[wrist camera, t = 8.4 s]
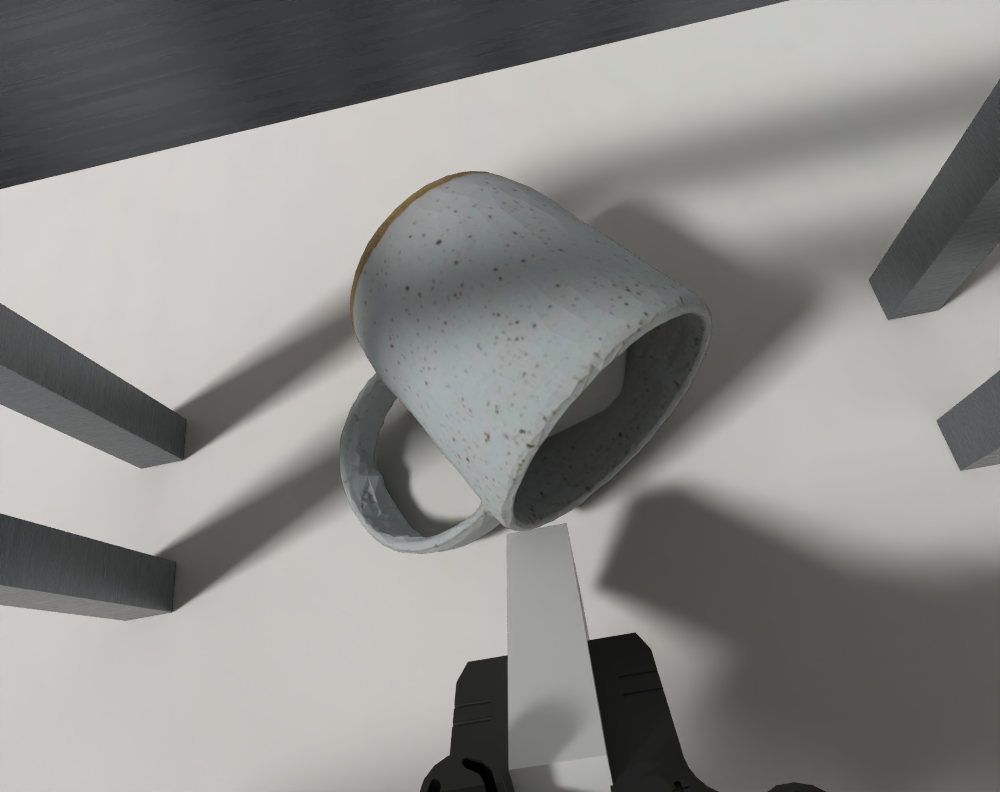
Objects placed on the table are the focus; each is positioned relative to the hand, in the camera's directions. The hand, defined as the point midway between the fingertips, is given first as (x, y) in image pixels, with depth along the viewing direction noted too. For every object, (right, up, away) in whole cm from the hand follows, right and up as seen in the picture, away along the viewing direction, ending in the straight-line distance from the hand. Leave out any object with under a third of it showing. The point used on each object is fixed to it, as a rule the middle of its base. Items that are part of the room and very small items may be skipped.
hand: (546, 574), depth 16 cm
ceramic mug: (-1, +3, +5) cm, 6 cm away
